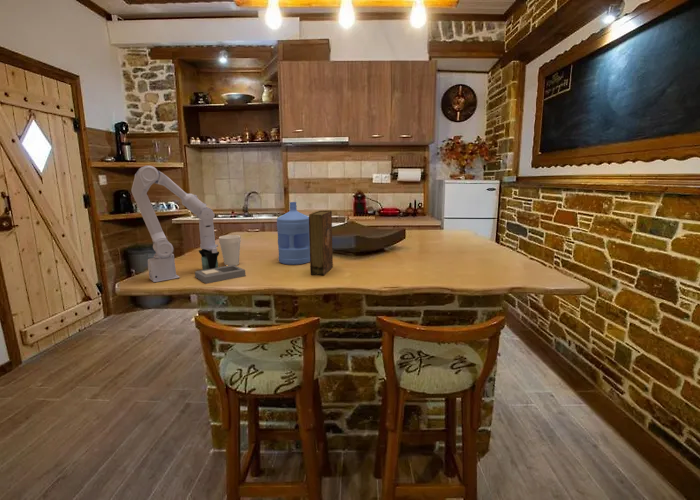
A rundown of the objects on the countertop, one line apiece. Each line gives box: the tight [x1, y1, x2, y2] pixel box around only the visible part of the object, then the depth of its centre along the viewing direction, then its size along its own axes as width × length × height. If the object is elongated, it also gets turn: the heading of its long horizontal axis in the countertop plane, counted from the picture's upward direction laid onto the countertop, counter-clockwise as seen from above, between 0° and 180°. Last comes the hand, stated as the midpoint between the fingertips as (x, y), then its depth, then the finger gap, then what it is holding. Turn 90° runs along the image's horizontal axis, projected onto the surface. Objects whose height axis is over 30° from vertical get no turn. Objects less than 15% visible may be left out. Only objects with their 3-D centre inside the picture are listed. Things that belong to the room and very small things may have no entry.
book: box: [308, 210, 334, 276], centre depth 151 cm, size 16×6×25 cm, turn 168°
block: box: [200, 256, 219, 270], centre depth 153 cm, size 5×5×6 cm
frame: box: [194, 265, 246, 284], centre depth 146 cm, size 16×12×3 cm
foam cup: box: [218, 234, 242, 266], centre depth 165 cm, size 10×9×13 cm
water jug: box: [276, 201, 310, 266], centre depth 168 cm, size 16×16×28 cm
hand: (210, 266), depth 154 cm, fingers closed on block, 5 cm apart
